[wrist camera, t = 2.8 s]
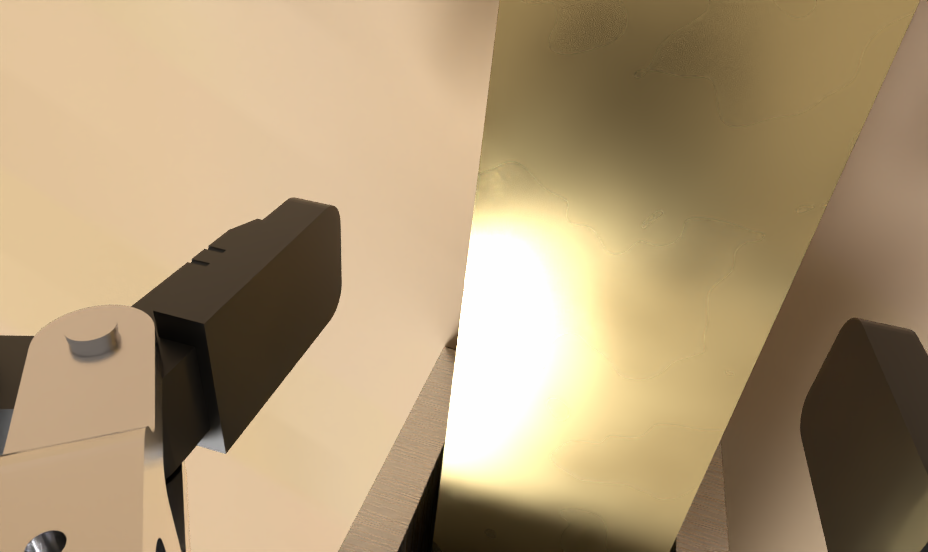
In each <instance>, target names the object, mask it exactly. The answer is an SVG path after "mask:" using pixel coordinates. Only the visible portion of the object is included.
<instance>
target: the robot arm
mask: <svg viewBox="0 0 928 552" xmlns="http://www.w3.org/2000/svg"><path fill="white" fill-rule="evenodd" d="M341 286H342V278H341V227H340V215H339V211H338V209H337V208H336V207H335V206H332V205H327V204H322V203H318V202H313V201H308V200H304V199H299V198H289V199H288V200H286V201H285V202H284V203H283V204H282V205H280V206H279V207H278V208H277V209H276V210H274V211H273V212H272V213H271V214H269V215H268V216H267V217H266V218H265V219H263V220H260V219H256V220H253V221H251V222H248V223H246V224H243V225H240V226H238V227H235V228H233V229H230V230H228V231H227V232H226V233H224V234H223V235H222V236H221V237H219V238H218V239H217V240H216V241H214V242H213V243H212V244H210V245H209V248H208V250H207V249H204V250H203V251H201V252H200V253H199V254H198V255H196V256H195V257H194V258H193V259H192V262H191V263H188V262H187V263H186V264H185V265H184V266H182V267H181V268H180V269H178V270H177V271H176V272H175V273H173V274H172V275H171V276H170V277H168V278H167V279H166V280H164V281H163V282H162V283H161V284H159V285H158V286H157V287H155V288H154V289H153V290H152V291H150V292H149V293H148V294H147V295H145V296H144V297H143V298H141V299H140V300H139V301H138V302H136V303H135V304H134V305H133V306H131V307H129V306H123V305H101V306H94V307H88V308H84V309H80V310H77V311H74V312H71V313H68V314H66V315H63V316H61V317H59V318H57V319H55V320H54V321H52V322H50V323H49V324H47V325H46V326H45V327H43V328H42V329H41V330H40V331H39V332H38V333H37V334H36V335H35V336H0V552H191V550H190V530H189V510H188V490H187V472H186V467H185V462H184V460H185V459H186V457H187V456H188V455H189V454H190V453H191V451H192V450H193V449H194V448H195V447H196V446H201V447H204V448H207V449H211V450H214V451H218V452H221V453H224V454H226V453H227V452H228V450H229V449H230V448H231V447H232V445H233V444H234V443H235V441H236V440H237V439H238V438H239V436H240V435H241V434H242V433H243V431H244V430H245V429H246V427H247V426H248V425H249V424H250V422H251V421H252V420H253V418H254V417H255V416H256V415H257V413H258V412H259V411H260V409H261V408H262V407H263V406H264V404H265V403H266V402H267V401H268V399H269V398H270V397H271V395H272V394H273V393H274V392H275V390H276V389H277V388H278V386H279V385H280V384H281V383H282V381H283V380H284V379H285V377H286V376H287V375H288V374H289V372H290V371H291V370H292V369H293V367H294V366H295V365H296V363H297V362H298V361H299V360H300V358H301V357H302V356H303V354H304V353H305V352H306V351H307V349H308V348H309V347H310V345H311V344H312V343H313V342H314V340H315V339H316V338H317V337H318V335H319V334H320V333H321V331H322V330H323V329H324V328H325V326H326V325H327V324H328V322H329V321H330V320H331V318H332V317H333V315H334V313H335V311H336V308H337V306H338V303H339V299H340V294H341ZM800 431H801V438H802V443H803V447H804V451H805V456H806V460H807V464H808V468H809V473H810V477H811V481H812V485H813V490H814V494H815V498H816V502H817V507H818V511H819V515H820V519H821V524H822V528H823V532H824V536H825V541H826V545H827V549H828V552H928V355H927V353H926V351H925V349H924V348H923V346H922V344H921V342H920V340H919V338H918V337H917V335H916V334H915V332H913V331H912V330H910V329H905V328H901V327H896V326H891V325H887V324H882V323H877V322H872V321H868V320H863V319H858V318H852V319H850V320H848V321H847V322H846V323H845V324H844V326H843V327H842V329H841V330H840V332H839V334H838V336H837V338H836V340H835V342H834V344H833V346H832V348H831V350H830V351H829V353H828V355H827V357H826V359H825V361H824V363H823V365H822V367H821V369H820V371H819V373H818V375H817V377H816V379H815V381H814V383H813V385H812V387H811V389H810V391H809V392H808V395H807V397H806V399H805V402H804V405H803V409H802V414H801V424H800Z"/></svg>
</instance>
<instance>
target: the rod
mask: <svg viewBox="0 0 928 552" xmlns="http://www.w3.org/2000/svg"><path fill="white" fill-rule="evenodd" d="M919 2H920V0H500V1H499V9H498V17H497V25H496V33H495V42H494V50H493V58H492V66H491V74H490V82H489V90H488V99H487V107H486V115H485V123H484V131H483V139H482V147H481V155H480V164H479V172H478V180H477V188H476V196H475V204H474V212H473V221H472V229H471V237H470V245H469V253H468V261H467V269H466V277H465V286H464V294H463V302H462V310H461V318H460V326H459V334H458V343H457V351H456V359H455V367H454V375H453V383H452V391H451V400H450V408H449V416H448V424H447V432H446V440H445V448H444V456H443V465H442V473H441V481H440V489H439V497H438V505H437V513H436V522H435V530H434V538H433V546H432V552H670V550H671V548H672V545H673V543H674V541H675V539H676V537H677V534H678V532H679V530H680V528H681V526H682V523H683V521H684V519H685V517H686V515H687V512H688V510H689V508H690V506H691V504H692V501H693V499H694V497H695V495H696V493H697V490H698V488H699V486H700V484H701V482H702V479H703V477H704V475H705V473H706V471H707V468H708V466H709V464H710V462H711V460H712V457H713V455H714V453H715V451H716V449H717V446H718V444H719V442H720V440H721V438H722V435H723V433H724V431H725V429H726V427H727V424H728V422H729V420H730V418H731V416H732V413H733V411H734V409H735V407H736V405H737V402H738V400H739V398H740V396H741V394H742V391H743V389H744V387H745V385H746V383H747V380H748V378H749V376H750V374H751V372H752V369H753V367H754V365H755V363H756V361H757V358H758V356H759V354H760V352H761V350H762V347H763V345H764V343H765V341H766V339H767V336H768V334H769V332H770V330H771V328H772V325H773V323H774V321H775V319H776V317H777V314H778V312H779V310H780V308H781V306H782V303H783V301H784V299H785V297H786V295H787V292H788V290H789V288H790V286H791V284H792V281H793V279H794V277H795V275H796V273H797V270H798V268H799V266H800V264H801V262H802V259H803V257H804V255H805V253H806V251H807V248H808V246H809V244H810V242H811V240H812V237H813V235H814V233H815V231H816V229H817V226H818V224H819V222H820V220H821V218H822V215H823V213H824V211H825V209H826V207H827V204H828V202H829V200H830V198H831V196H832V193H833V191H834V189H835V187H836V185H837V182H838V180H839V178H840V176H841V174H842V171H843V169H844V167H845V165H846V163H847V160H848V158H849V156H850V154H851V152H852V149H853V147H854V145H855V143H856V141H857V138H858V136H859V134H860V132H861V130H862V127H863V125H864V123H865V121H866V119H867V116H868V114H869V112H870V110H871V108H872V105H873V103H874V101H875V99H876V97H877V94H878V92H879V90H880V88H881V86H882V83H883V81H884V79H885V77H886V75H887V72H888V70H889V68H890V66H891V64H892V61H893V59H894V57H895V55H896V53H897V50H898V48H899V46H900V44H901V42H902V39H903V37H904V35H905V33H906V31H907V28H908V26H909V24H910V22H911V20H912V17H913V15H914V13H915V11H916V9H917V6H918V4H919Z"/></svg>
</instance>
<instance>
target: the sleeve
mask: <svg viewBox="0 0 928 552" xmlns="http://www.w3.org/2000/svg"><path fill="white" fill-rule="evenodd" d="M456 351H457V350H454V349H450V348H446V347H444V348H443V350H442V352H441V354H440V356H439V358H438V359H437V361H436V363H435V365H434V367H433V369H432V371H431V373H430V375H429V377H428V379H427V381H426V383H425V385H424V387H423V388H422V390H421V392H420V394H419V396H418V398H417V400H416V402H415V404H414V406H413V408H412V410H411V412H410V414H409V416H408V418H407V419H406V421H405V423H404V425H403V427H402V429H401V431H400V433H399V435H398V437H397V439H396V441H395V443H394V445H393V447H392V448H391V450H390V452H389V454H388V456H387V458H386V460H385V462H384V464H383V466H382V468H381V470H380V472H379V474H378V476H377V478H376V479H375V481H374V483H373V485H372V487H371V489H370V491H369V493H368V495H367V497H366V499H365V501H364V503H363V505H362V507H361V508H360V510H359V512H358V514H357V516H356V518H355V520H354V522H353V524H352V526H351V528H350V530H349V532H348V534H347V536H346V538H345V539H344V541H343V543H342V545H341V547H340V549H339V551H338V552H432V546H433V538H434V530H435V522H436V513H437V505H438V497H439V489H440V481H441V473H442V465H443V456H444V448H445V440H446V432H447V424H448V416H449V408H450V400H451V391H452V383H453V375H454V367H455V359H456ZM670 552H729V546H728V532H727V519H726V505H725V492H724V478H723V464H722V451H721V440H720V442H719V444H718V446H717V449H716V451H715V453H714V455H713V457H712V460H711V462H710V464H709V466H708V468H707V471H706V473H705V475H704V477H703V479H702V482H701V484H700V486H699V488H698V490H697V493H696V495H695V497H694V499H693V501H692V504H691V506H690V508H689V510H688V512H687V515H686V517H685V519H684V521H683V523H682V526H681V528H680V530H679V532H678V534H677V537H676V539H675V541H674V543H673V545H672V548H671V550H670Z"/></svg>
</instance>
